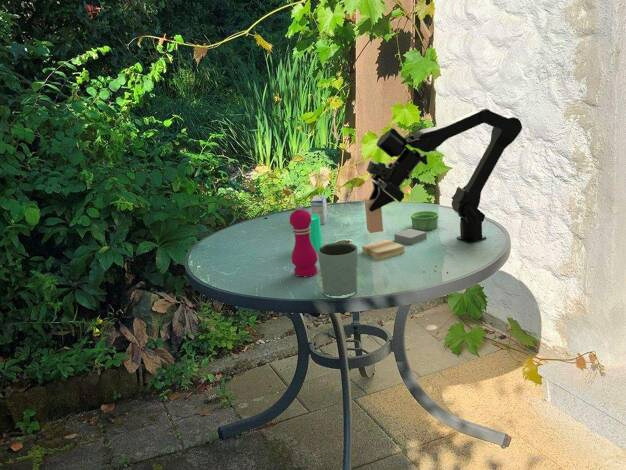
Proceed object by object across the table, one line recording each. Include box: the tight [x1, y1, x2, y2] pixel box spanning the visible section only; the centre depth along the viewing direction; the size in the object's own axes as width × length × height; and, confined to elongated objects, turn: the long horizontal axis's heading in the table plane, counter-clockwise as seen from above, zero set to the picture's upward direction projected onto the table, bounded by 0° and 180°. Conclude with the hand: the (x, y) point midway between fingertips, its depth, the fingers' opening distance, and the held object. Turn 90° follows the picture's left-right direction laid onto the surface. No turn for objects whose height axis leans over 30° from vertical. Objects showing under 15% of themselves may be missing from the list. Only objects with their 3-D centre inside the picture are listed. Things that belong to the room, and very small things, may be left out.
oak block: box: [361, 239, 406, 260], centre depth 200 cm, size 9×9×2 cm
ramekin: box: [410, 210, 439, 231], centre depth 221 cm, size 9×9×4 cm
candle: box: [308, 211, 323, 253], centre depth 208 cm, size 6×6×12 cm
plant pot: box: [317, 242, 358, 296], centre depth 172 cm, size 10×10×12 cm
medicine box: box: [310, 194, 328, 225], centre depth 238 cm, size 8×4×9 cm, turn 172°
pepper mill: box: [289, 203, 319, 277], centre depth 187 cm, size 7×7×20 cm
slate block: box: [393, 228, 428, 245], centre depth 210 cm, size 7×7×2 cm
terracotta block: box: [364, 199, 384, 234], centre depth 199 cm, size 4×4×9 cm
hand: (368, 208), depth 198 cm, fingers closed on terracotta block, 4 cm apart
